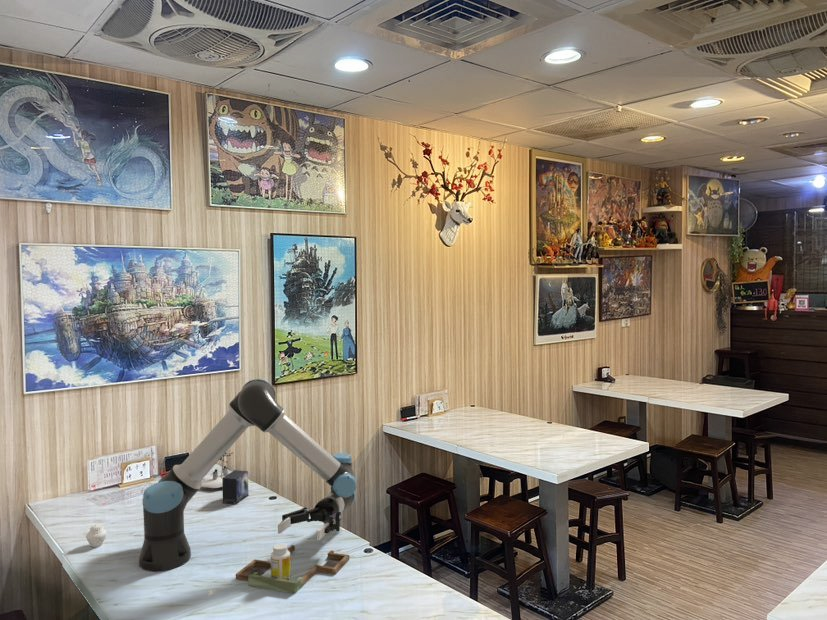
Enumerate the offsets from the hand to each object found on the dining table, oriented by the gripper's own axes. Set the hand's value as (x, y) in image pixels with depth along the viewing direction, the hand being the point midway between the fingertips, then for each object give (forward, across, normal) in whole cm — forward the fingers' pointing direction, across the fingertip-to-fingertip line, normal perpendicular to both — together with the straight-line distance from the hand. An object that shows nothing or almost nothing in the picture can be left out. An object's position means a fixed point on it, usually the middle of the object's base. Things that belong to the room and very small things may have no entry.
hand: (298, 532), depth 187 cm
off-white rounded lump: (+6, +73, -12) cm, 74 cm away
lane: (+2, 0, -10) cm, 11 cm away
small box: (-45, +53, -11) cm, 70 cm away
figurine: (-60, +70, -12) cm, 93 cm away
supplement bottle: (+10, 0, -11) cm, 15 cm away
